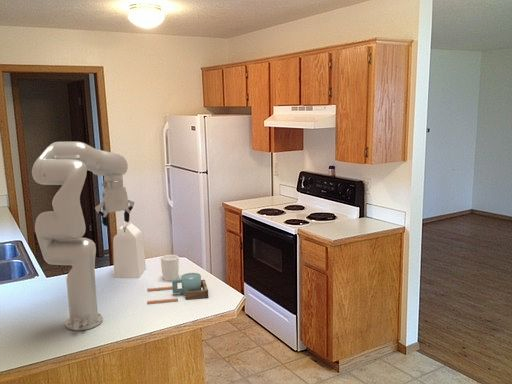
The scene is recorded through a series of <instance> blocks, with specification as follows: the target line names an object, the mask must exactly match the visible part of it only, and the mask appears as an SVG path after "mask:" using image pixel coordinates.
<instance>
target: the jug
mask: <svg viewBox="0 0 512 384" xmlns="http://www.w3.org/2000/svg"><path fill="white" fill-rule="evenodd" d="M201 280H202V275H201V274H200V273H198V272H188V273H184V274H182V275H181V277H180V278H179V277H178V279H172V281H171V282H172V283H171V284H172V285H171V286H172V289H171V290H172V295H175V294H181V295H182V296H184V297H185V292H187V291H198V290H202V288H201ZM178 284H181V288H179V287H178Z"/></svg>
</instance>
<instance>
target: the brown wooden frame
mask: <svg viewBox="0 0 512 384" xmlns="http://www.w3.org/2000/svg"><path fill="white" fill-rule="evenodd" d="M184 297H185V301H186V300H187V301H188V300H198V299H206V298H207V299H208V298H209V288H208V285H207V282H206V280H205V279H201V290H198V291H187V292H185V296H184Z"/></svg>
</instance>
